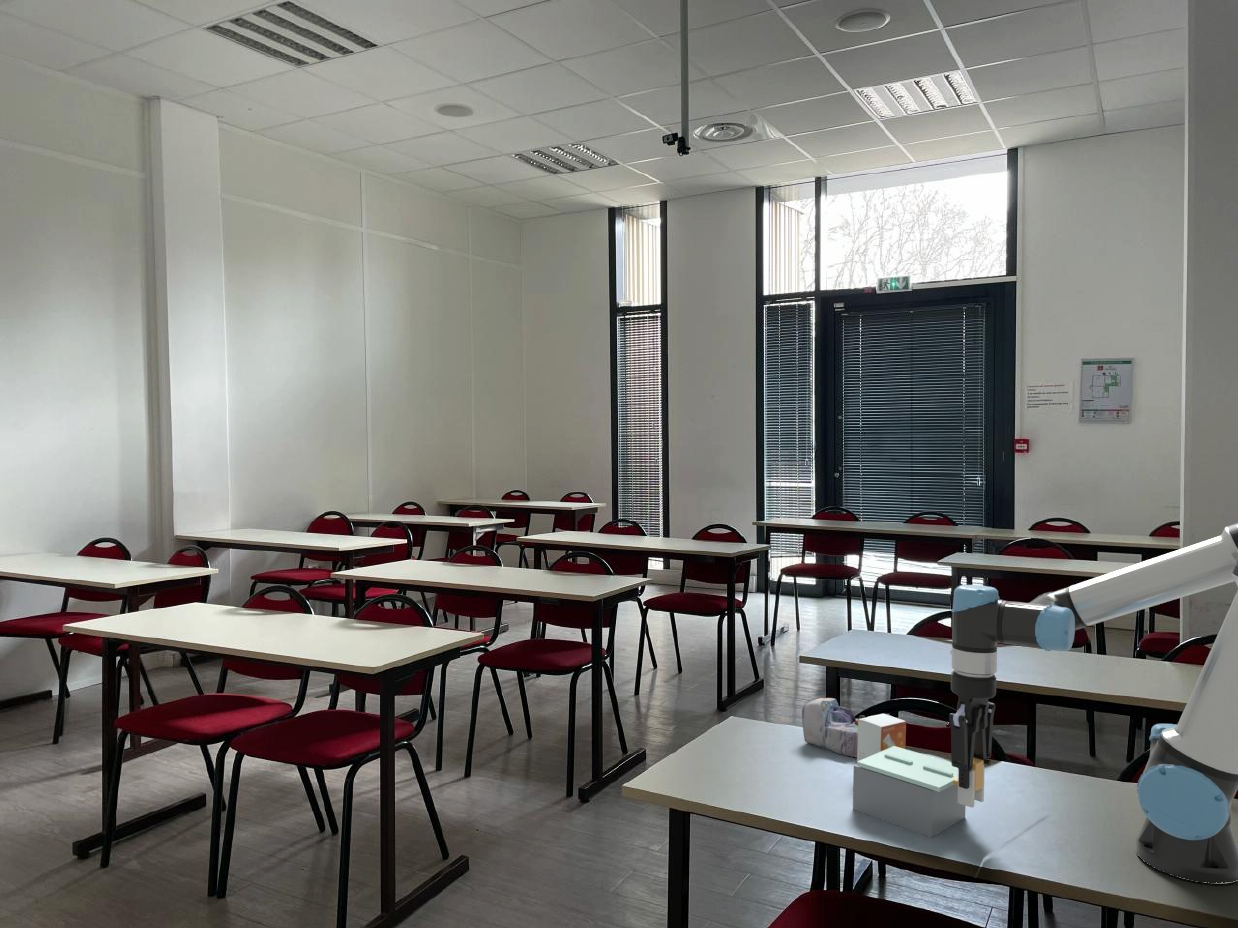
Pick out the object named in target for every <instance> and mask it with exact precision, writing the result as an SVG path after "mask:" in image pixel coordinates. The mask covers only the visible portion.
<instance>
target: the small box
mask: <svg viewBox="0 0 1238 928" xmlns="http://www.w3.org/2000/svg"><path fill="white" fill-rule="evenodd" d="M873 715H874V716H873ZM873 715H870V716H867V717H866V716H865V718H862V719H858V718H857V719H858V750H857V757H856V758H857V759H856V761H860V760H862V759H864V758H867V757H869V756H872V755H874V754H876V753H879V752H881V751H883V750H886V749H888V748H891V747H893V746H896V747H900V748H903V749H906V736H907V733H906V732H907V721H906V720H904V719H901V718H899V717H894V716H892V715H890V714H887V713H879V714H873Z"/></svg>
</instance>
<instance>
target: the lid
mask: <svg viewBox="0 0 1238 928" xmlns="http://www.w3.org/2000/svg"><path fill="white" fill-rule="evenodd" d="M856 761H857V760H856ZM856 764H857V766H859V767H862V768H866V769H869V770H872V771H875V772H878V773H881V774H884V775H888V776H891V777H894V778H897V779H900V780H903V781H906V782H909V783H913V784H916V785H919V786H922V787H925V788H928V789H931V790H935V791H938V792H940V791H942V790H944V789H946V788H948V787H950V786H952V785H957V786H958V768H956V767H953V766H952V761H948V760H945V759H941V758H937V757H933V756H930V755H928V754H927V755H926V754H923V753H920V752H916V751H913V750H910V749H906V748H905V749H903V748H900V747H896V746H893V747H891V748H888V749H886V750H883V751H881V752H879V753H876V754H874V755H872V756H869V757H867V758H864V759H862V760H860V761H857V762H856ZM983 764H984V760H980V759H977V758H973V767H972V770H975V791H977V790H978V789H980V788H982V787H983ZM984 765H985V764H984Z"/></svg>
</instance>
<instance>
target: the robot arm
mask: <svg viewBox="0 0 1238 928" xmlns="http://www.w3.org/2000/svg"><path fill="white" fill-rule="evenodd" d="M1233 582H1235V584H1236V586H1237V587H1238V522H1237V523H1234V524H1231V525H1228V526H1225V527H1224V529H1223V531H1222V533H1221V534H1220V535H1218V536H1214V537H1212V538H1209V539H1206V540H1202V541H1200V542H1197V543H1195V544H1191V545H1189V546H1185V547H1181V548H1180V549H1177V550H1174V551H1170V552H1167V553H1165V554H1161V555H1159V556H1156V557H1152V558H1150V559H1146V560H1143V561H1141V562H1137V563H1136V564H1135V563H1134V564H1132V565H1129V566H1126V567H1123V568H1120V569H1117V570H1115V571H1111V572H1108V573H1105V574H1102V575H1100V576H1096V577H1093V578H1091V579H1090V578H1089V579H1088V580H1084V581H1081V582H1079V583H1076V584H1072V585H1070V586H1068V587H1064V588H1061V589H1057V590H1055V591H1048V592H1045V593H1042V594H1039V595H1038V596H1036V597H1035V598H1034V599H1032V600H1031V601H1030V602H1021V601H1010V600H1009V601H1008V600H1004V599H1000V596H999V590H997V588H996V587H992V586H986V585H979V584H961V585H958V586H957V587H956V588H954V591H953V601H952V609H951V613H952V614H951V619H952V620H951V621H952V623H951V626H952V628H951V630H952V633H951V636H952V638H951V641H952V642H951V650H950V652H949V653H950V654H951V669H953V670H952V671H951V672H950V674H951V675H950V690H951V691H952V693H953V694H956V695H957V697H958V701H957V704H956V705H957V706H956V709H957V710H956V711H955V712H956V713H953V712H952V713H949V715H948V720H949V725H950V739H951V740H950V747H951V749H950V750H951V751H950V752H951V753H950V755H951V763H952V766H953V767H956V768H958V803H959V804H962V805H965V807H969V808H974V807H975V801H976V802H981V803H984V802H985V765H986V766H990V765H991V762H992V761H991V760H990V758H992V757H991V756H992V747H993V746H992V745H993V728H994V715H995V711H996V704H995V703H993V702H990V701H989V699H992V698H994V697H995V696H996V694H997V677H996V675H995V674H996V673H997V672H998V643H999V644H1004V645H1005V644H1006V645H1012V646H1019V647H1025V648H1031V649H1039V650H1043V651H1044V650H1045V651H1047V652H1050V651H1056V652H1068V651H1069V650H1071V649H1072V646H1073V643H1074V642H1075V633H1076V631H1077V630H1081V629H1083V628H1086V627H1089V626H1092V625H1095V624H1099V623H1103V622H1105V621H1109V620H1111V619H1115V618H1118V617H1121V616H1122V617H1123V616H1125V615H1128V614H1132V613H1134V612H1138V611H1141V610H1144V609H1148V608H1151V607H1155V606H1158V605H1160V604H1161V605H1162V604H1164V603H1167V602H1171V601H1173V600H1174V601H1175V600H1177V599H1181V598H1183V597H1187V596H1190V595H1194V594H1198V593H1200V592H1204V591H1208V590H1210V589H1214V588H1216V587H1220V586H1223V585H1226V584H1231V583H1233ZM1148 738H1149V741H1150V749H1149V750H1150V751H1149V758H1148V761H1147V763H1146V764H1145V768H1144V770H1143V773H1142V774H1141V775H1140V777H1139V779H1138V781H1137V785H1136V788H1137V789H1136V790H1137V798H1138V799H1137V800H1138V803H1139V805H1140V808H1141V810H1142V812H1143V813H1144V815H1145V817H1144V819H1143V823H1142V825H1141V827H1140V829H1139V831H1138V834H1137V837H1136V840H1135V841H1136V842H1135V843H1136V844H1135V854H1136V853H1137V854H1136V855H1139V857H1140V858H1141V859H1142V860H1144V861H1145V862H1146V863H1148V864H1150V865H1151V866H1152V867H1155V868H1156V869H1159V870H1161V871H1164V872H1166V873H1168V874H1172V875H1174V876H1178V877H1181V878H1185V879H1189V880H1193V881H1198V882H1207V883H1208V882H1209V883H1216V882H1217V883H1221V882H1223V883H1225V882H1233V881H1236V880H1238V845H1237V841H1236V839H1235V836H1234V833H1233V830H1232V826H1231V824H1232V823H1231V821H1232V802H1233V800H1234V798H1235V796H1236V795H1237V791H1238V590H1237V591H1236V593H1235V595H1234V598H1233V600H1232V602H1231V605H1230V607H1229V609H1228V611H1227V613H1226V614H1225V618H1224V620H1223V622H1222V625H1221V627H1220V628H1219V632H1218V633H1217V636H1216V638H1215V639H1214V642H1213V644H1212V647H1211V649H1210V650H1209V653H1208V656H1207V657H1206V660H1205V663H1204V665H1203V667H1202V669H1201V671H1200V673H1199V676H1198V678H1197V680H1196V682H1195V684H1194V687H1193V690H1192V692H1191V694H1190V696H1189V697H1188V700H1187V703H1186V704H1185V707H1184V710H1183V711H1182V714H1181V716H1180V718H1179V721H1178V722H1177V724H1173V723H1156V724H1154V725H1153V726H1152V727H1151V731H1150V736H1149V737H1148ZM973 758H977V759H980V760H984V764H983V787H982V788H980V789H978V790H977V791H975V770H972V767H973ZM1139 857H1138V858H1139ZM1140 858H1139V859H1140ZM1141 859H1140V860H1141ZM1142 860H1141V861H1142ZM1146 863H1145V864H1146ZM1151 866H1150V867H1151ZM1152 867H1151V868H1152ZM1156 869H1155V870H1156ZM1161 871H1160V872H1161ZM1168 874H1167V875H1168ZM1174 876H1173V877H1174Z"/></svg>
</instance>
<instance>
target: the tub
mask: <svg viewBox="0 0 1238 928" xmlns="http://www.w3.org/2000/svg"><path fill="white" fill-rule="evenodd" d="M852 781H853V784H852V785H853V786H852V789H853V790H852V810H853V811H856V812H858V813H862V814H865V815H868V816H870V817H873V818H876V819H879V820H881V821H884V822H887V823H889V824H892V825H895V826H897V827H901V828H902V829H905V830H906V829H907V830H908V831H910V832H914V833H916V834H919V835H922V836H925V837H928V838H931V839H932V838H933V837H935V836H937V835H939V834H940V833H942V832H944V831H945V830H946V829H949V828H950V827H952V826H954V825H956V824H957V823H959V822H960V821H962V820H964V819H965V818H966V806H965V805H962V804H959V803H958V786H957V785H952V786H950V787H948V788H946V789H944V790H942V791H940V792H938V791H935V790H931V789H928V788H925V787H922V786H919V785H916V784H913V783H909V782H906V781H903V780H900V779H897V778H894V777H891V776H888V775H884V774H881V773H878V772H875V771H872V770H869V769H866V768H862V767H859V766H857V763H856V764H854V765H853V780H852Z"/></svg>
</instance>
